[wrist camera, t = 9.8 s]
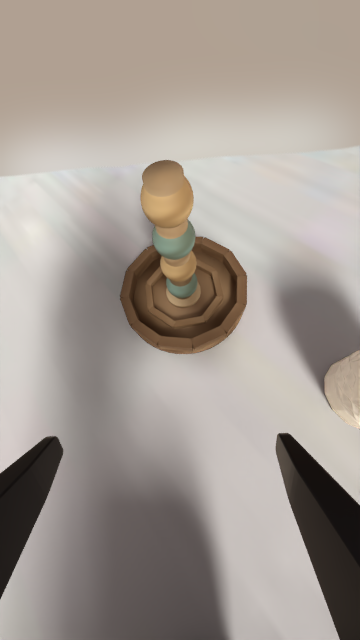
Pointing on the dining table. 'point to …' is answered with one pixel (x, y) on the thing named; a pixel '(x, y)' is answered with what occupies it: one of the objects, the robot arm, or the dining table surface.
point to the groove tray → (193, 322)
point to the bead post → (172, 228)
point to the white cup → (345, 388)
